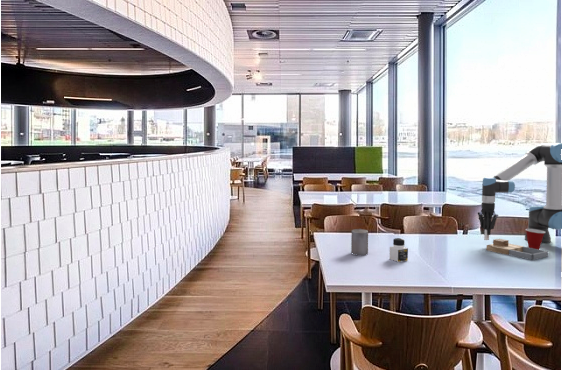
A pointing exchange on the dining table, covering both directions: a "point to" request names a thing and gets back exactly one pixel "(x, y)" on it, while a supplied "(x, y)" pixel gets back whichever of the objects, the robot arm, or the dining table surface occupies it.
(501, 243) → the brown square block
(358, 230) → the pillar candle
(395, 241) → the medicine bottle
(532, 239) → the plastic cup
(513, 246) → the board
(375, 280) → the dining table surface
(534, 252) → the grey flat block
